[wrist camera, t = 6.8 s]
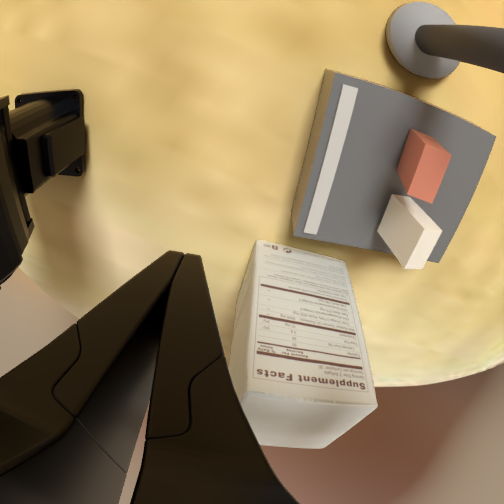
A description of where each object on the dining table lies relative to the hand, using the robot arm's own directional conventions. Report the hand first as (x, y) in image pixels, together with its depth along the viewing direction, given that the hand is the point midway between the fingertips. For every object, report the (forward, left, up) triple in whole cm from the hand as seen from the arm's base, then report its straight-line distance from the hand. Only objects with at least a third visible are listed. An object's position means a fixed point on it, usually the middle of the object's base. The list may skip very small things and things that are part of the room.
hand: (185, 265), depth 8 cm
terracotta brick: (+10, +2, -10) cm, 14 cm away
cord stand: (+10, +9, -13) cm, 19 cm away
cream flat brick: (+10, -2, -10) cm, 14 cm away
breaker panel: (+10, 0, -13) cm, 16 cm away
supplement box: (+6, -11, -13) cm, 18 cm away
